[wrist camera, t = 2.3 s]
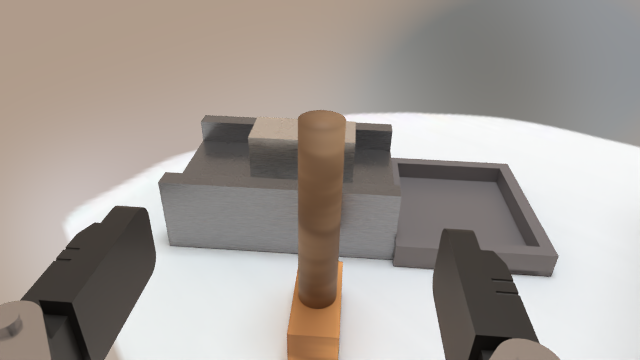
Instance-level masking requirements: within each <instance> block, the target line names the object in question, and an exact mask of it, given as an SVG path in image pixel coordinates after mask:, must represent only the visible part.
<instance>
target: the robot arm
mask: <svg viewBox="0 0 640 360" xmlns="http://www.w3.org/2000/svg"><path fill="white" fill-rule="evenodd" d="M155 262H156V251H155V246H154V240H153V235H152V230H151V225H150V220H149V215H148V212H147V210H146V209H145V208H143V207H128V206H115V207H114V208H113V209H112V210H111V211H110V212H109V214H108V215H107V216H106V217H105V218H104V220H103V221H102V222H101V223H93V224H92V225H90V226H89V227H87V228H85V229H84V230H82V231H81V232H79V233H78V234H77V235H76V236H75V237H74V238H73V239H72V240H71V242H70V243H69V244H68V245H67V246H66V249H65V250H63V251H62V252H61V253H60V255H59V256H58V257H57V258H56V261H53V263H52V264H51V265H50V266H49V267H48V268H47V270H46V271H45V272H44V273H43V274H42V275H41V277H40V278H39V279H38V280H37V281H36V283H35V284H34V285H33V286H32V287H31V288H30V289H29V291H28V292H27V293H26V294H25V295H24V297H23V298H22V299H21V300H20V301H14V302H8V303H5V304H2V305H0V360H104V359H105V357H106V356H107V354H108V352H109V350H110V348H111V347H112V345H113V343H114V341H115V340H116V338H117V336H118V334H119V332H120V331H121V329H122V327H123V325H124V324H125V322H126V320H127V318H128V316H129V315H130V313H131V311H132V309H133V307H134V306H135V304H136V302H137V300H138V299H139V297H140V295H141V293H142V291H143V290H144V288H145V286H146V284H147V282H148V281H149V279H150V277H151V275H152V273H153V271H154V267H155ZM433 296H434V302H435V307H436V312H437V317H438V322H439V327H440V333H441V338H442V343H443V348H444V353H445V358H446V360H560V359H559V358H558V357H557V356H556V355H555V354H554V353H553V352H552V351H551V350H549V349H548V348H546V347H545V346H543V345H541V344H540V343H539V341H538V339H537V336H536V334H535V331H534V329H533V326H532V324H531V322H530V319H529V317H528V314H527V312H526V310H525V307H524V305H523V302H522V300H521V298H520V296H518V290H517V288H516V286H515V283H513V278H512V276H511V274H510V271H509V269H508V266H507V264H506V263H505V262H504V261H503V260H502V259H501V258H500V257H499V256H498V255H497V254H496V253H495V252H494V251H490V250H481V249H480V246H479V243H478V241H477V238H476V235H475V233H474V231H473V230H462V229H447V228H444V229H443V231H442V234H441V239H440V243H439V248H438V253H437V258H436V263H435V268H434V273H433Z"/></svg>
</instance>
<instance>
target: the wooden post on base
mask: <svg viewBox="0 0 640 360" xmlns="http://www.w3.org/2000/svg"><path fill="white" fill-rule="evenodd" d="M345 132H346V119H345V117H344V116H343V115H341V114H339V113H336V112H333V111H325V110H316V111H309V112H306V113H303V114H302V115H300V116H299V117H298V271H297V277H296V283H295V289H294V295H293V301H292V307H291V313H290V319H289V325H288V332H287V353H288V360H338V351H339V334H340V311H341V289H342V267H343V262H340V261H338V258H339V240H340V222H341V204H342V186H343V168H344V150H345Z"/></svg>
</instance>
